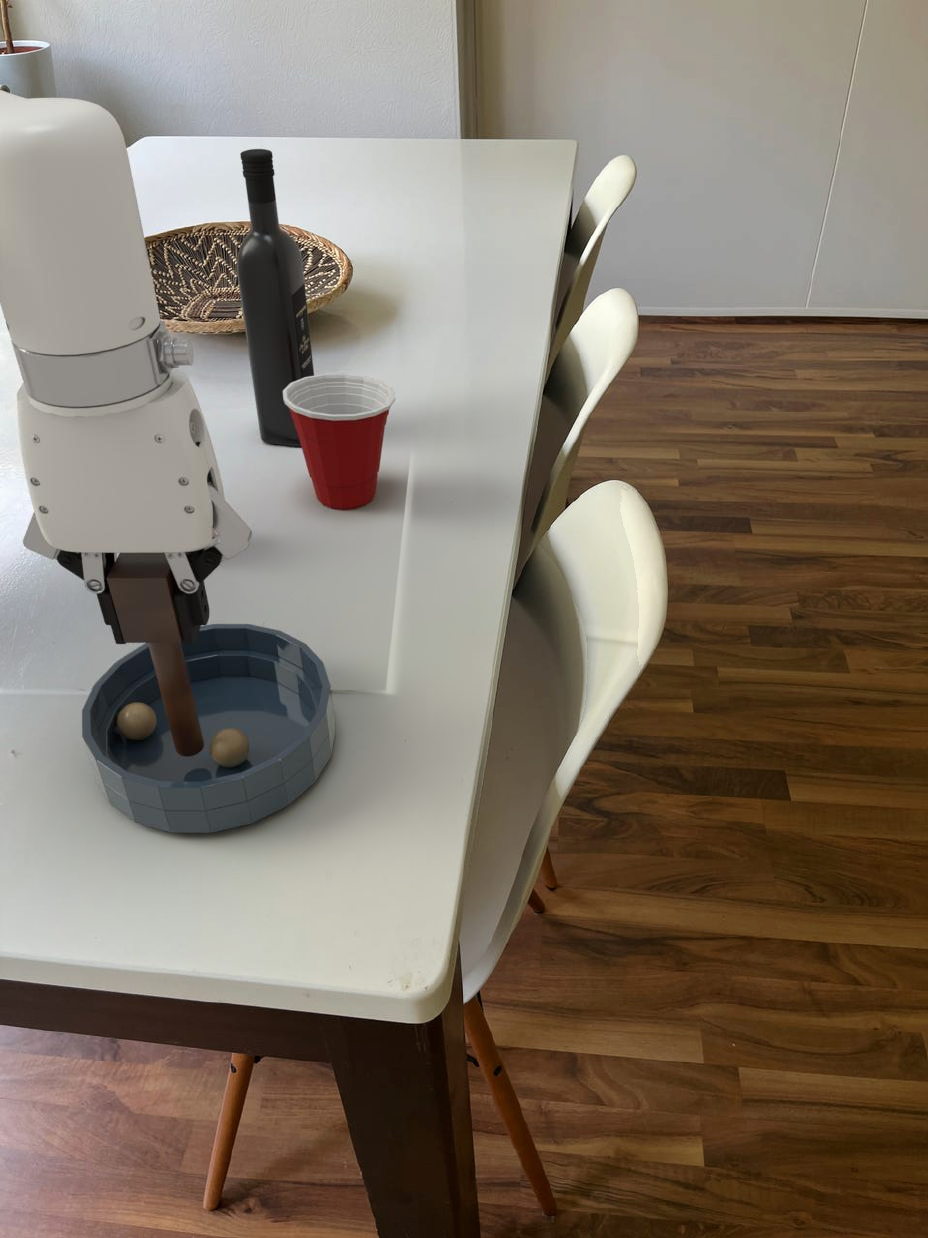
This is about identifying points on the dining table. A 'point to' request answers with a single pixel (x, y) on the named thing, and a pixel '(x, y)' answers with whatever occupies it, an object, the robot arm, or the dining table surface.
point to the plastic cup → (341, 434)
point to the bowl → (215, 731)
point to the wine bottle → (272, 303)
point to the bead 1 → (136, 721)
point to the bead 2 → (229, 747)
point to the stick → (157, 637)
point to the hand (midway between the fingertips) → (160, 628)
